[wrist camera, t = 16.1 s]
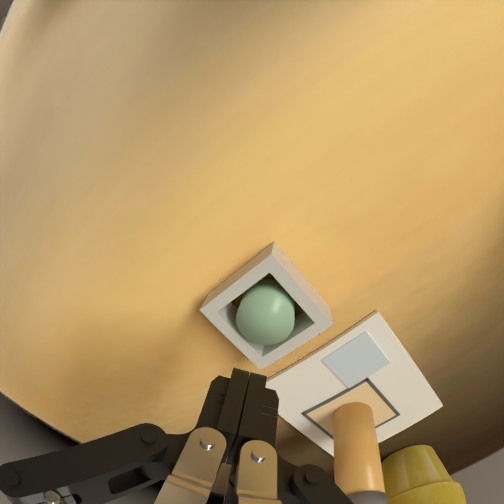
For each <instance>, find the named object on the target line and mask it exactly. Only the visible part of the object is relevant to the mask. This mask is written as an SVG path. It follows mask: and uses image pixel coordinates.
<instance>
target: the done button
mask: <svg viewBox="0 0 504 504" xmlns="http://www.w3.org/2000/svg"><path fill="white" fill-rule="evenodd" d="M294 321H295V300H294V299H293V298H292V297H291V296H290V294H289V293H288V292H287V291H286V290H285V289H284V288H283V287H282V286H281V284H280V283H279V282H278V281H277V280H272V279H262V280H259V281H258V282H256V283H255V284H254V285H252V286H251V287H250V288H249V289H247V290H246V291H245V292H244V294H243V296H242V299H241V302H240V305H239V308H238V311H237V314H236V323H237V327H238V329H239V331H240V332H241V334H242V335H243V336H244V337H245V338H247V339H248V340H250V341H251V342H254V343H256V344H260V345H273V344H277V343H279V342H281V341H283V340H285V339H286V338H287V337H288V336H289V335H290V334H291V332H292V330H293V328H294Z"/></svg>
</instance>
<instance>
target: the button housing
mask: <svg viewBox="0 0 504 504" xmlns="http://www.w3.org/2000/svg"><path fill="white" fill-rule="evenodd" d="M268 273H271V274H272V275H273V277H274V278H275V279H276V280H277V281H278V282H279V283H280V284H281V286H282V287H283V288H284V289H285V290H286V291H287V292H288V293H289V294H290V296H291V297H292V298H293V299H294V300H295V301H296V302H297V303H298V305H299V306H300V307H301V308H302V309H303V310H304V311H303V312H302V313H300V314H299V315H298V316H296V317H295V321H294V328H293V330H292V332H291V334H290V335H289V336H288V337H287V338H286V339H285V340H283V341H281V342H279V343H277V344H273V345H260V344H256V343H254V342H251V341H250V340H248V339H247V338H245V337H244V336H243V335H242V334H241V332H240V331H239V329H238V327H237V323H236V314H237V311H238V309H237V308H236V307H235V306H234V305H233V304H232V303H231V301H233V300H234V299H235V298H237V297H238V296H239V295H241V294H242V293H243V292H245V291H246V290H247V289H249V288H250V287H251V286H252V285H254V284H255V283H256V282H258V281H259V280H260V279H262V278H263V277H264V276H266V275H267V274H268ZM200 311H201V312H202V313H203V314H204V315H205V316H206V317H207V318H208V319H209V320H210V321H211V322H212V323H213V324H214V325H215V326H216V327H217V328H218V329H219V330H220V331H221V332H222V333H223V334H224V335H225V336H226V337H227V338H228V339H229V340H230V341H231V342H232V343H233V344H234V345H235V346H236V347H237V348H238V349H239V350H240V351H241V352H242V353H243V354H244V355H245V356H246V357H247V358H248V359H249V360H251V361H252V362H253V363H254V364H255V365H256V366H257V367H258V368H259V369H260V370H261V369H263V368H264V367H266V366H268V365H270V364H271V363H273V362H275V361H276V360H278V359H280V358H281V357H283V356H285V355H286V354H288V353H289V352H291V351H293V350H294V349H296V348H297V347H299V346H301V345H302V344H304V343H305V342H307V341H308V340H310V339H312V338H313V337H315V336H316V335H318V334H319V333H321V332H322V331H324V330H325V329H327V328H328V327H330V326H331V325H333V323H332V318H331V313H330V308H329V305H328V304H327V303H326V302H325V300H324V299H323V298H322V297H321V296H320V295H319V293H318V292H317V291H316V290H315V289H314V288H313V286H312V285H311V284H310V283H309V282H308V280H307V279H306V278H305V277H304V276H303V275H302V273H301V272H300V271H299V270H298V269H297V268H296V266H295V265H294V264H293V263H292V262H291V261H290V259H289V258H288V257H287V256H286V255H285V254H284V253H283V251H282V250H281V249H280V248H279V247H278V246H277V244H276V243H275V242H273V243H272V244H270V245H269V246H268V247H267V248H265V249H264V250H263V251H262V252H260V253H259V254H258V255H256V256H255V257H254V258H253V259H251V260H250V261H249V262H248V263H246V264H245V265H244V266H243V267H241V268H240V269H239V270H238V271H236V272H235V273H234V274H233V275H231V276H230V277H229V278H228V279H226V280H225V281H224V282H223V283H221V284H220V285H219V286H218V287H216V288H215V289H214V290H212V291H211V292H210V293H209V294H208V296H207V298H206V299H205V301H204V303H203V305H202V306H201V308H200Z"/></svg>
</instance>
